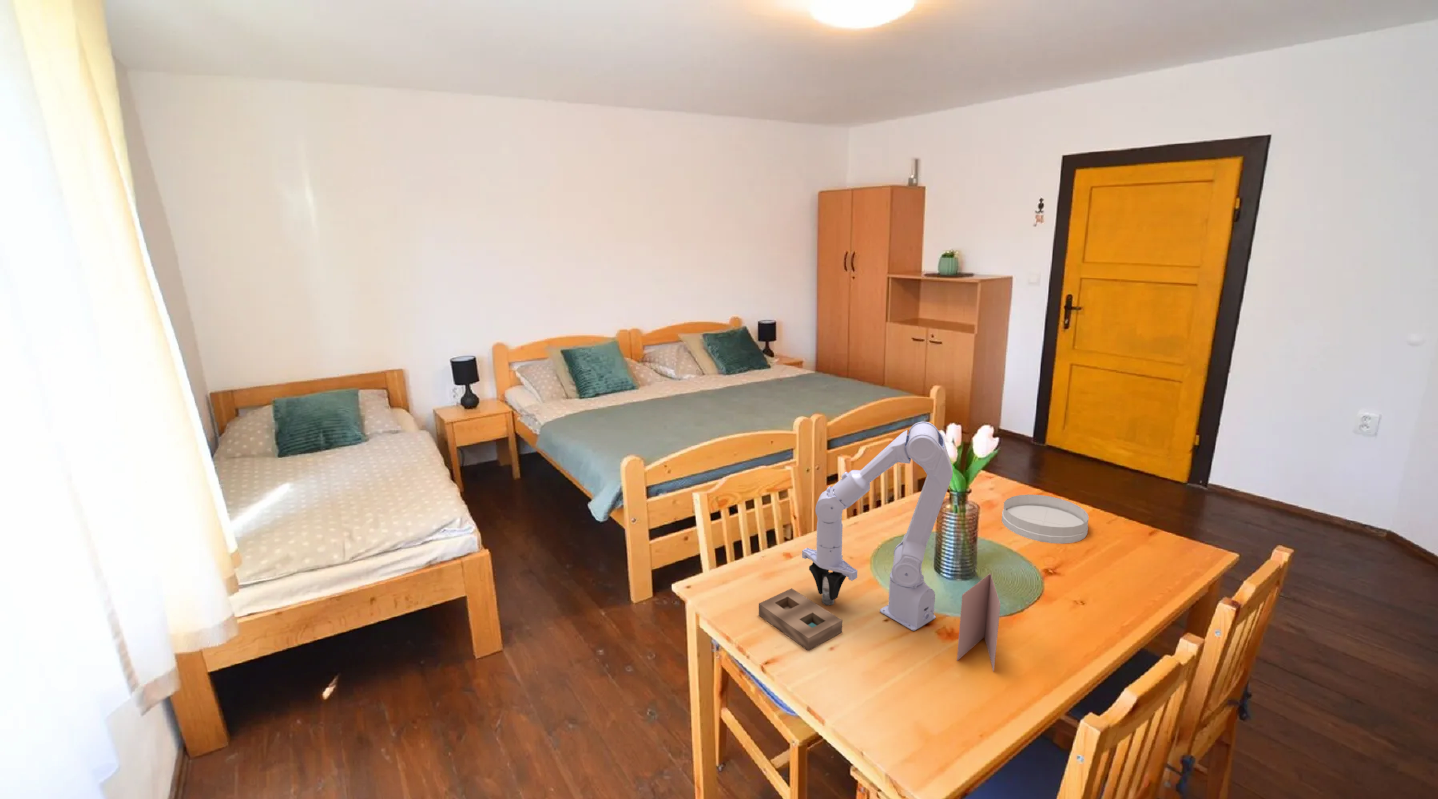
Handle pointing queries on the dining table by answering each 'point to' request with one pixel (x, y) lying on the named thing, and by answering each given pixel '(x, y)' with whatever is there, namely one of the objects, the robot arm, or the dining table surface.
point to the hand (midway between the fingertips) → (828, 595)
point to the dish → (1045, 519)
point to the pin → (826, 590)
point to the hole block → (800, 618)
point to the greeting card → (979, 618)
